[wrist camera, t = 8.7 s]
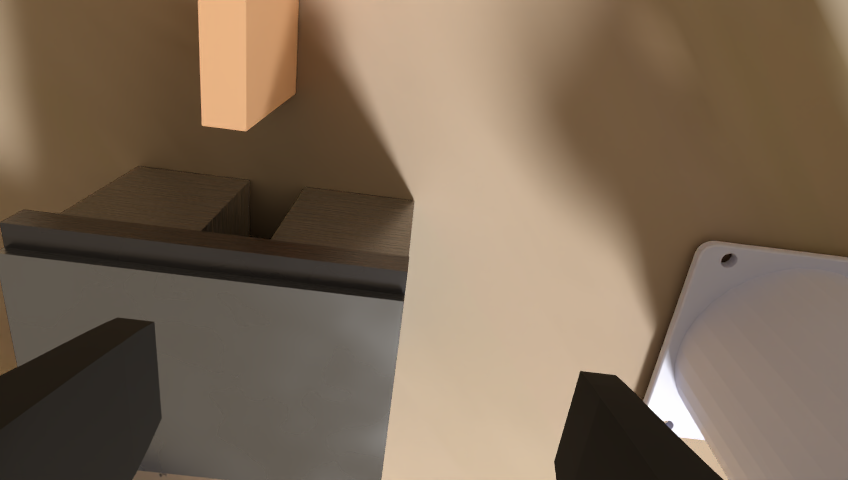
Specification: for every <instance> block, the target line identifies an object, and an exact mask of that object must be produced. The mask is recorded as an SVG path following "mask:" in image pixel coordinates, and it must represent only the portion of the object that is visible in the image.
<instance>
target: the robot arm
mask: <svg viewBox="0 0 848 480" xmlns="http://www.w3.org/2000/svg"><path fill="white" fill-rule="evenodd" d="M730 253H732V256H731V258H730V259H729V260H728V261H726V262H722V263H721V259H722V258H723V256H725V255H726V254H730ZM161 419H162V414H161V401H160V388H159V375H158V362H157V349H156V336H155V323H154V322H153V321H145V320H136V319H127V318H119V317H117V318H115V319H113V320H110V321H108V322H106V323H104V324H101V325H99V326H97V327H95V328H93V329H91V330H89V331H87V332H85V333H83V334H81V335H79V336H77V337H75V338H73V339H71V340H69V341H67V342H65V343H64V344H62V345H60V346H58V347H56V348H54V349H52V350H50V351H48V352H46V353H44V354H42V355H40V356H38V357H36V358H34V359H32V360H30V361H28V362H27V363H25V364H23V365H21V366H19V367H17V368H15V369H13V370H11V371H9V372H7V373H5V374H3V375H1V376H0V480H132V479H133V478H134V476H135V475H136V473H137V471H138V468H139V466H140V464H141V462H142V460H143V458H144V456H145V454H146V452H147V450H148V448H149V446H150V443H151V441H152V439H153V437H154V435H155V432H156V430H157V428H158V426H159V423H160V421H161ZM668 420H669V421H668ZM664 421H668V422H667V423H664ZM679 437H682V438H691V439H699V440H705V441H706V442H707V444H708V446H709V447H710V449H711V451H712V452H713V454H714V456H715V457H716V459H717V461H718V463H719V464H720V466H721V468H722V469H723V471H724V473H725V474H726V476H727V478H728V479H729V480H848V257H841V256H833V255H825V254H817V253H809V252H801V251H793V250H785V249H777V248H769V247H761V246H753V245H745V244H737V243H729V242H721V241H708V242H705V243H703V244H702V245H700V246H699V247H698V248H697V250H696V252H695V254H694V257H693V260H692V263H691V266H690V268H689V271H688V274H687V277H686V280H685V283H684V286H683V288H682V291H681V294H680V297H679V300H678V303H677V306H676V308H675V311H674V314H673V317H672V320H671V323H670V326H669V328H668V331H667V334H666V337H665V340H664V343H663V346H662V348H661V351H660V354H659V357H658V360H657V363H656V366H655V368H654V371H653V374H652V377H651V380H650V383H649V386H648V388H647V391H646V394H645V397H644V400H643V401H642V400H641V399H640V398H639V397H638V396H637V395H636V394H635V393H634V392H633V391H632V390H631V389H630V388H629V387H628V386H627V385H626V384H625V383H624V382H623V381H622V380H620V379H619V378H618V377H617V376H616V375H609V374H601V373H592V372H583V371H580V374H579V378H578V381H577V385H576V388H575V392H574V395H573V399H572V402H571V406H570V409H569V412H568V416H567V419H566V423H565V426H564V430H563V433H562V437H561V440H560V444H559V447H558V451H557V454H556V458H555V461H554V463H555V472H556V480H723V479H722V478H721V477H720V476H719V475H718V474H717V473H716V472H714V471H713V470H712V469H711V468H710V467H709V466H708V465H707V464H706V463H705V462H704V461H703V460H702V459H701V458H700V457H699V456H698V455H697V454H696V453H695V452H694V451H693V450H692V449H691V448H689V447H688V446H687V445H686V444H685V443H684V442H683V441H682V440H681V439H680V438H679Z"/></svg>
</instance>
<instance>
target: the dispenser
mask: <svg viewBox="0 0 848 480" xmlns="http://www.w3.org/2000/svg"><path fill="white" fill-rule="evenodd" d="M413 208H414V201H413V200H405V199H397V198H389V197H381V196H373V195H365V194H357V193H349V192H341V191H333V190H325V189H317V188H309V187H305V188H304V189H303V191H302V192H301V194H300V195H299V197H298V198H297V200H296V201H295V203H294V204H293V206H292V207H291V209H290V211H289V212H288V214H287V215H286V217H285V218H284V220H283V221H282V223H281V224H280V226H279V227H278V229H277V230H276V232H275V234H274V235H273V237H272V238H271V240H270V239H262V238H254V237H250V180H245V179H237V178H229V177H221V176H212V175H204V174H196V173H188V172H180V171H172V170H164V169H156V168H148V167H140V166H138V167H136V168H134V169H133V170H131V171H129V172H128V173H126V174H125V175H123V176H121V177H120V178H118V179H116V180H115V181H113V182H111V183H110V184H108V185H106V186H105V187H103V188H101V189H100V190H98V191H96V192H95V193H93V194H92V195H90V196H88V197H87V198H85V199H83V200H82V201H80V202H78V203H77V204H75V205H73V206H72V207H70V208H68V209H67V210H65V211H63V212H62V213H60V214H56V213H48V212H39V211H31V210H22V211H20V212H18V213H17V214H15V215H13V216H11V217H9V218H7V219H5V220H4V221H2V222H0V226H1V232H2V237H3V242H4V248H2V249H1V250H0V281H1V286H2V291H3V296H4V301H5V306H6V311H7V316H8V321H9V326H10V332H11V337H12V342H13V347H14V352H15V357H16V362H17V367H19V366H21V365H23V364H25V363H27V362H28V361H30V360H32V359H34V358H36V357H38V356H40V355H42V354H44V353H46V352H48V351H50V350H52V349H54V348H56V347H58V346H60V345H62V344H64V343H65V342H67V341H69V340H71V339H73V338H75V337H77V336H79V335H81V334H83V333H85V332H87V331H89V330H91V329H93V328H95V327H97V326H99V325H101V324H104V323H106V322H108V321H110V320H113V319H115V318H117V317H119V318H127V319H136V320H145V321H153V322H154V323H155V336H156V349H157V362H158V375H159V388H160V401H161V414H162V419H161V421H160V423H159V426H158V428H157V430H156V432H155V435H154V437H153V439H152V441H151V443H150V446H149V448H148V450H147V452H146V454H145V456H144V458H143V460H142V462H141V464H140V466H139V468H138V471H147V472H157V473H166V474H175V475H184V476H194V477H203V478H212V479H222V480H381V477H382V470H383V462H384V454H385V446H386V438H387V430H388V423H389V415H390V407H391V399H392V391H393V383H394V376H395V368H396V360H397V352H398V344H399V336H400V328H401V321H402V313H403V305H404V296H405V288H406V280H407V272H408V262H409V247H410V238H411V228H412V218H413Z"/></svg>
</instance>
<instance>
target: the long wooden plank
mask: <svg viewBox="0 0 848 480" xmlns="http://www.w3.org/2000/svg"><path fill="white" fill-rule="evenodd" d="M298 12H299V0H198V23H199V54H200V85H201V116H202V126H208V127H216V128H224V129H232V130H239V131H247V130H249V129H250V128H251V127H253V126H254V125H255V124H257V123H258V122H259V121H260V120H262V119H263V118H264V117H266V116H267V115H268V114H270V113H271V112H272V111H273V110H275V109H276V108H277V107H279V106H280V105H281V104H283V103H284V102H285V101H286V100H288V99H289V98H290V97H292V96H293V95H294V94H296V71H297V41H298Z"/></svg>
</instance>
